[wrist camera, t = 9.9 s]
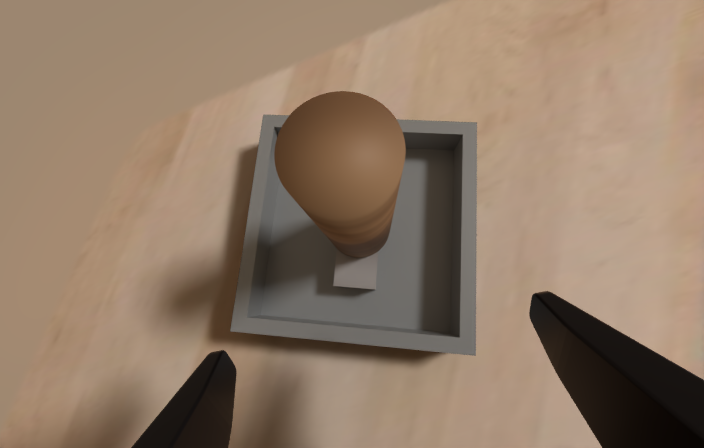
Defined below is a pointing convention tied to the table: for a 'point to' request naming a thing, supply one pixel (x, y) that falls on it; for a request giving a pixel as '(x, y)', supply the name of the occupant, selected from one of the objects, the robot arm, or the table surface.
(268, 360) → the table surface
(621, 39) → the table surface
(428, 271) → the tray
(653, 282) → the table surface
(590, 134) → the table surface
